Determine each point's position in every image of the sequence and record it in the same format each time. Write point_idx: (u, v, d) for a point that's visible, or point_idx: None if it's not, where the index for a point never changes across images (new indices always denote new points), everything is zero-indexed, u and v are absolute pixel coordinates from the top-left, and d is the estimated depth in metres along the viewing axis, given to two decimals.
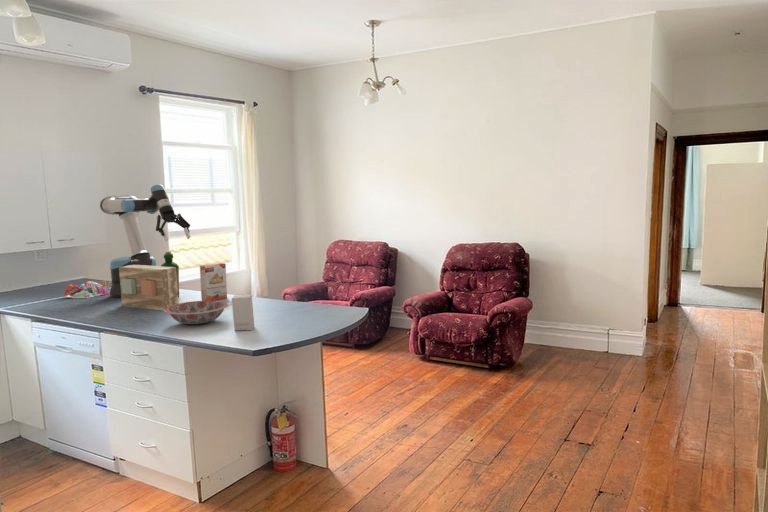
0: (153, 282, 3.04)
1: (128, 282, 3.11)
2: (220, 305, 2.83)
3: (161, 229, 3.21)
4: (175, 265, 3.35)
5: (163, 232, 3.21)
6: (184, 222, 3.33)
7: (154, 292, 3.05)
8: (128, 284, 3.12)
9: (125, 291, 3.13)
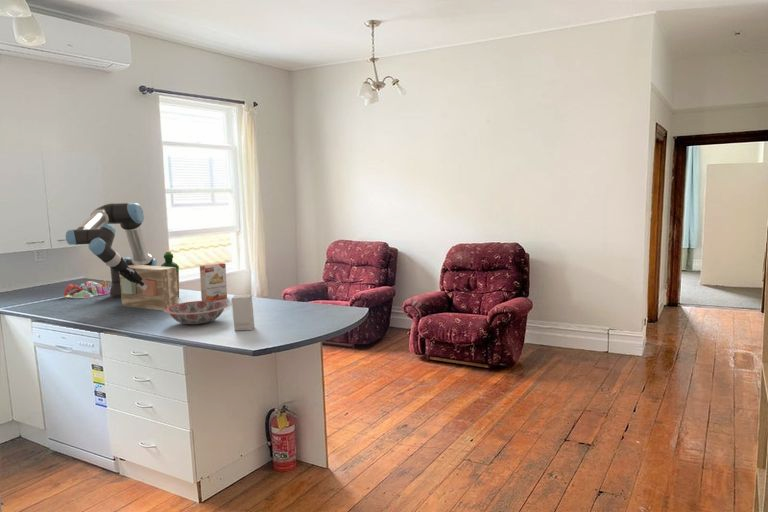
0: (154, 282, 3.05)
1: (128, 282, 3.11)
2: (220, 305, 2.83)
3: (134, 282, 3.00)
4: (175, 265, 3.35)
5: None
6: None
7: (155, 292, 3.06)
8: (128, 284, 3.12)
9: (125, 291, 3.13)
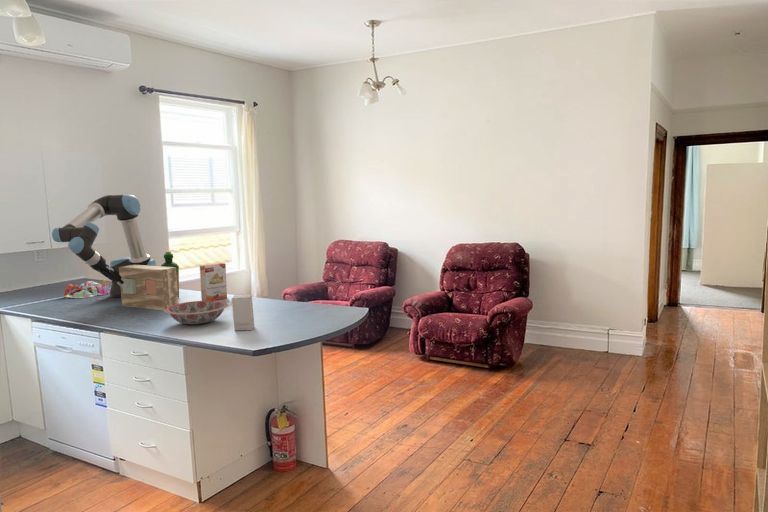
0: None
1: (129, 281, 3.12)
2: (220, 305, 2.83)
3: (114, 281, 3.07)
4: (175, 265, 3.35)
5: None
6: None
7: None
8: (129, 284, 3.12)
9: (126, 291, 3.14)
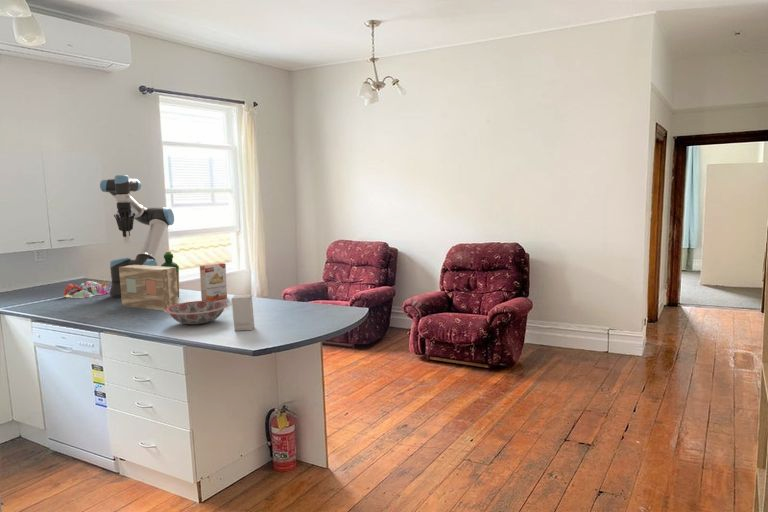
0: None
1: (132, 281, 3.14)
2: (220, 305, 2.83)
3: (125, 231, 3.30)
4: (175, 265, 3.35)
5: (125, 234, 3.31)
6: (130, 223, 3.34)
7: None
8: (133, 283, 3.14)
9: (130, 290, 3.16)
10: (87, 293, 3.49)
